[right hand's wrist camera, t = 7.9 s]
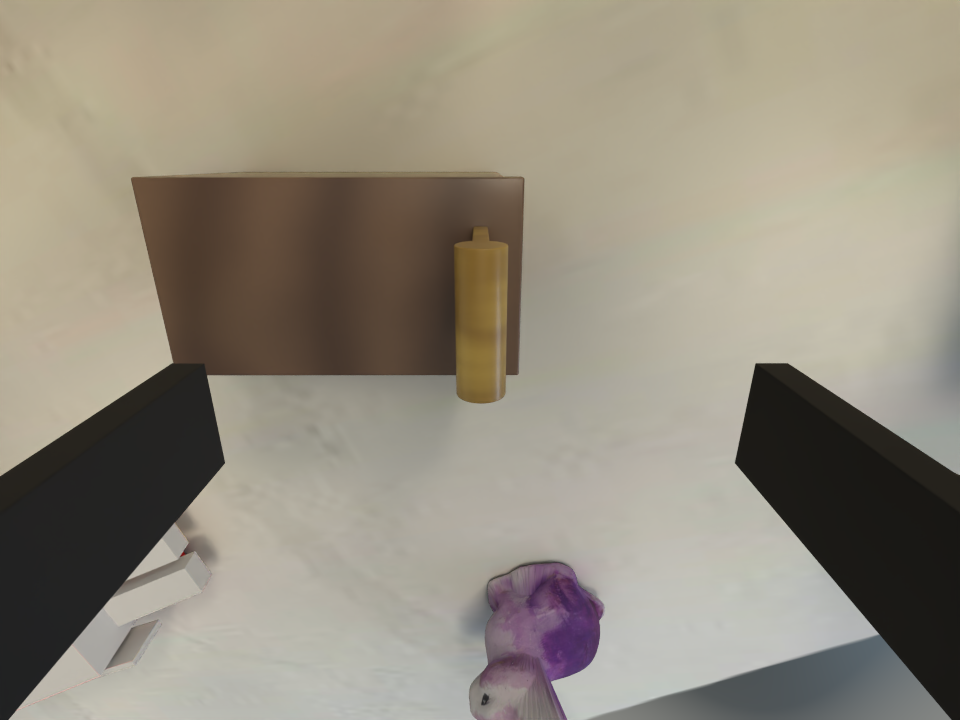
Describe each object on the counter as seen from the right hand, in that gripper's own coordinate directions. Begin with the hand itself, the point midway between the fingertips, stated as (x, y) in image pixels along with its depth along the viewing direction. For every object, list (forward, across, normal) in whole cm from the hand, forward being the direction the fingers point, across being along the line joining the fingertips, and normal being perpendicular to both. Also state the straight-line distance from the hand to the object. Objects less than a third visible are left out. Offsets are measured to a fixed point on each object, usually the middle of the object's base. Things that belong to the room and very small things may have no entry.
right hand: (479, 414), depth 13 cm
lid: (+16, -7, 0) cm, 17 cm away
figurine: (+27, +5, -33) cm, 43 cm away
